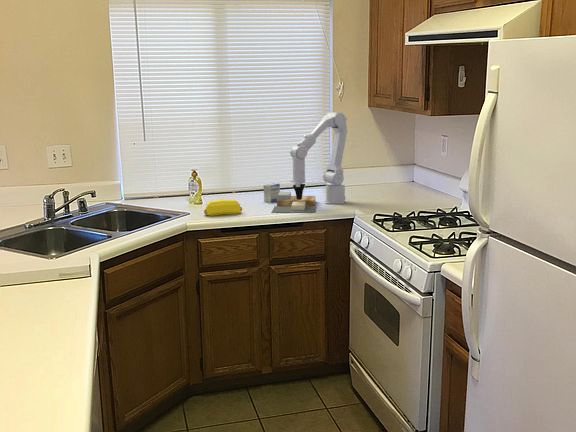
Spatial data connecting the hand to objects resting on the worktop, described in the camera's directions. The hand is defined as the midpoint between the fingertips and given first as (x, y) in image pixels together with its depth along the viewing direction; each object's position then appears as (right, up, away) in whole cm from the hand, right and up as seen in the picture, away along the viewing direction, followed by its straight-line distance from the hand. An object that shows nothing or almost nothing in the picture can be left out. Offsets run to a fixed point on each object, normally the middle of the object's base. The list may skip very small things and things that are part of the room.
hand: (299, 199), depth 309 cm
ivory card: (0, -4, -3) cm, 5 cm away
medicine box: (-13, -1, +17) cm, 22 cm away
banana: (-35, -7, -11) cm, 38 cm away
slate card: (-7, +1, +9) cm, 11 cm away
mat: (-3, -5, -5) cm, 7 cm away
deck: (-1, -2, +8) cm, 8 cm away
